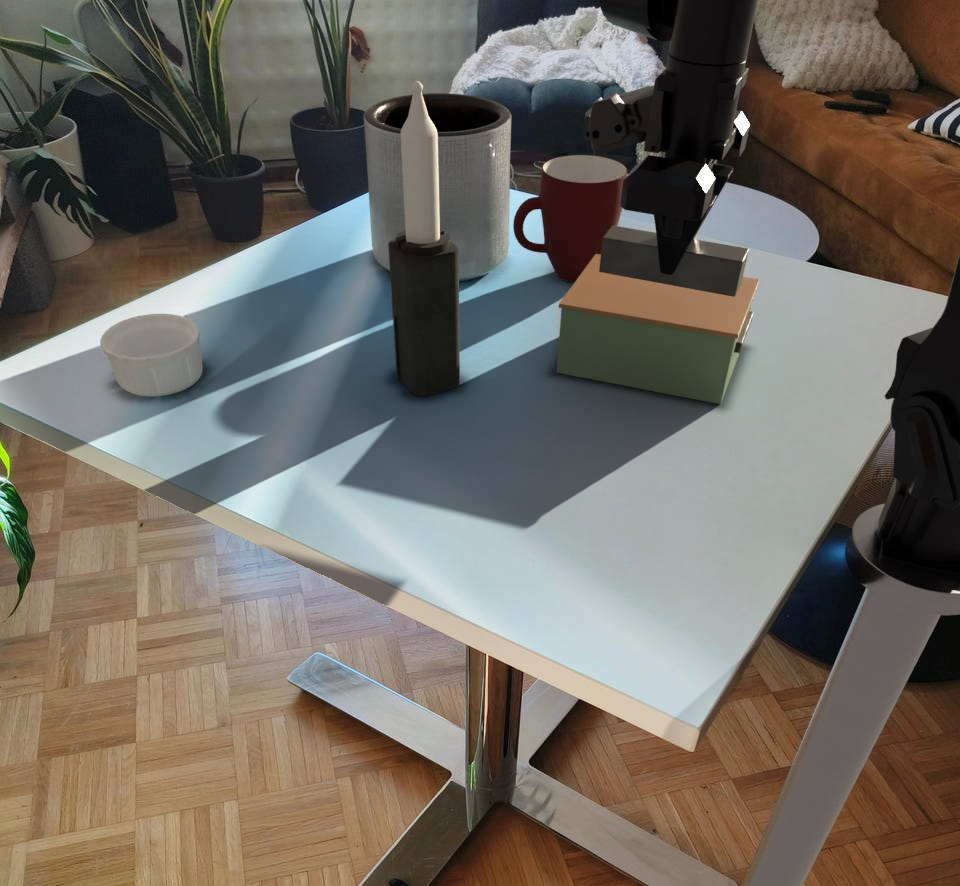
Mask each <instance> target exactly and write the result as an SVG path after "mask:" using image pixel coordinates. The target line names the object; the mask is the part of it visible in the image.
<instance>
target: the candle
mask: <svg viewBox="0 0 960 886" xmlns="http://www.w3.org/2000/svg"><path fill="white" fill-rule="evenodd" d="M411 90H412V94H413V97H412V101H411V106H410V110H409V115H408V118H407V120H406V121H405V123H404V125H403V127H402V129H401V152H402V172H403V192H404V212H405V230H404V231H401V232H400V233H398V234H397V236H396V239H393V240H391V241H390V242H389V243H388V248H389V264H390V271H389V274H390V275H389V276H390V277H389V278H390V294H391V307H392V323H393V324H392V325H393V340H394V355H395V357H394V358H395V370H396V371H395V372H396V379H397V381H398V382H401V383H402V384H403V385H404V386H405V387H406V388H407V389H409V391H410V394H411V395H413V396H416V397H428V396H432V395H434V394H438V393H442V392H447V391H450V390H453V389H455V388H458V386H459V385H460V382H461V370H460V369H461V367H460V366H461V365H460V362H461V361H460V358H461V357H460V356H461V355H460V351H461V350H460V281H459V249H458V247H457V246H456V245H455V244H454V243H452V242H451V241H450V237H449V234H444V231H443V230H440V216H439V174H438V133H437V129H436V127H435V126H434V124H433V122H432V121H431V119H430V118H429V116H428V112H427V109H426V106H425V102H424V99H423V95H422V94H423V90H424V85H423V83H421V82H420V81H419V80H416V81H414V82H413V83H412V85H411Z"/></svg>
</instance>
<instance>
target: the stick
mask: <svg viewBox="0 0 960 886" xmlns="http://www.w3.org/2000/svg"><path fill="white" fill-rule="evenodd" d="M749 252H750V248H749V247H748V248H747V247H742V246H736V245H729V244H723V243H718V242H712V241H706V240H701V239H695V238H694V239H693V240H692V242H691V243H690V245H689V247H688V249H687V250H686V252H685V254H684V256H683V257H682V259H681V261H680V263H679V264H678V266H677V268H676V270H675V272H674V273H673V274H672V275H668V274H663V273H661V272H660V265H659V255H658V245H657V236H656V232H653V231H647V230H642V229H635V228H630V227H624V226H619V225H618V226H612V227H611V228H610V229H609V231H608V232H607V233H606V234H605V236H604V237H603V241H602V250H601V258H600V267H599V272H602V273H608V274H613V275H619V276H624V277H629V278H635V279H640V280H646V281H651V282H657V283H662V284H667V285H673V286H678V287H684V288H689V289H694V290H700V291H705V292H711V293H716V294H722V295H727V296H732V297H735V295H736V293H737V291H738V289H739V287H740V285H741V283H742V278H743V277H744V274H745V269H746V265H747V260H748V256H749Z"/></svg>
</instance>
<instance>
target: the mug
mask: <svg viewBox="0 0 960 886" xmlns="http://www.w3.org/2000/svg"><path fill="white" fill-rule="evenodd" d="M540 174H541V177H540V185H539V194H538V196H532V197H530V198H527V199H526V200H524V201H523V202H522V203H521V204H520V205H519V207H518V208H517V210H516V212H515V215H514V217H513V233H514V237H515V240H516V241H517V243H518V244H519V245H520V246H521V247H522V248H524V249H526V250H528V251H530V252H534V253H538V254H539V253H541V254H546V256H547V257H548V259H549V262H550V264H551V266H552V268H553V270H554V272H555V275H556V276H557V277H558V278H559V279H561V280H562V281H565V282H569V283H575V281H576V280H577V279H578V277H579V276H580V275H581V273H582V272H583V270H584V269H585V268H586V266H587V265H588V264H589V262H590V261H591V260H592V258H593V257H594V255H595V254H600V255H601V250H602V241H603V237H604V236H605V234H606V233H607V232H608V231H609V229H610V228H611V227H612V226H619V222H620V219H621V216H622V211H623V208H622V207H620V203H621V195H622V187H623V180H624V179H625V178H626V177H627V175H628V169H627V166H626V165H625V164H623V163H621V162H620V161H618V160H615V159H612V158H609V157H604V156H594V155H590V154H589V155H588V154H573V155H565V156H558V157H555V158H551V159H549V160H547V161H546V162H544V163H543V164H542V167H541V173H540ZM537 210H540V213H541V220H542V229H543V242H544V243H537V242H532V241H530V240H529V239H528V238H527V237H526V235H525V233H524V232H525V231H524V225H525V220H526V218H527V216H528V215H529V214H530V213H531V212H533V211H537Z"/></svg>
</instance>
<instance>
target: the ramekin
mask: <svg viewBox="0 0 960 886" xmlns="http://www.w3.org/2000/svg"><path fill="white" fill-rule="evenodd" d="M200 340H201V332H200V328H199V326H198V325H197V324H196V322H194V321H193V320H191V319H190V318H187V317H185V316H181V315H178V314H172V313H148V314H141V315H137V316H133V317H129V318H126V319H124V320H121V321H119V322H117V323H115V324H113V325H112V326H110V327H109V328H108V329H106V330H105V331H104V332H103V334H102V335H101V338H100V342H99V343H100V347H101V349H102V352H103V353H104V355H106V357H107V360H108V363H109V364H110V367H111V370H112V373H113V374H114V378H115V380H116V382H117V383H118V385H119V386H120V388H121V389H123V390H124V391H126V392H128V393H131V394H133V395H137V396H140V397H141V396H142V397H164V396H169V395H173V394H177V393H180V392H182V391H185V390H187V389H188V388H190V387H192V386H193V385H195V383H196V382H198V381H199V379H200V378H201V376H202V375H203V371H204V369H203V368H204V367H203V358H202V351H201V344H200Z"/></svg>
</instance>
